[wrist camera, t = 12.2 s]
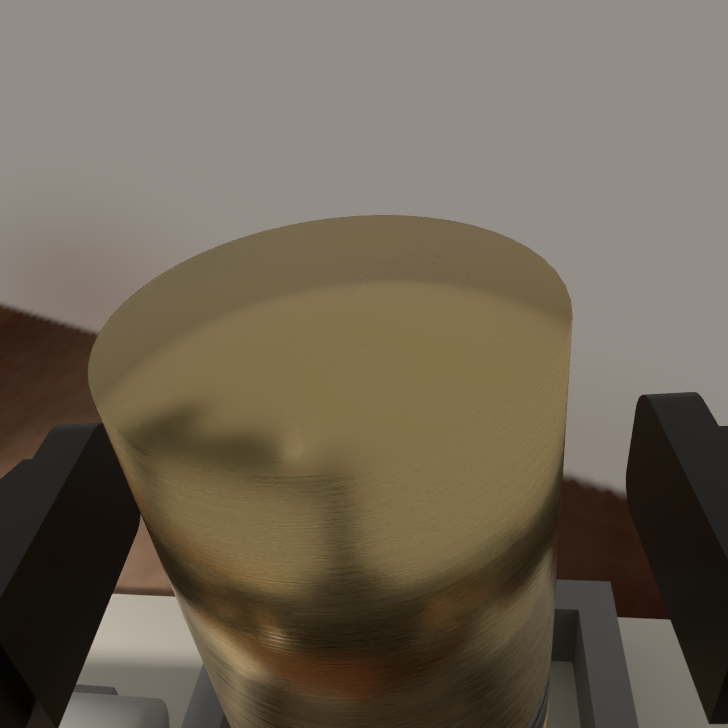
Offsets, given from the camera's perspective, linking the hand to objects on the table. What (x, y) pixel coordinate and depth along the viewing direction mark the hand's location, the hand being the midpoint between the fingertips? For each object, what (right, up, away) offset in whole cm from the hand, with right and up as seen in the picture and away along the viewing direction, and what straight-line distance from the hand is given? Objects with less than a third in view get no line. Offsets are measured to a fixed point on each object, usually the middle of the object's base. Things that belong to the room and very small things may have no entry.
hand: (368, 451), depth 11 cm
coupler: (+1, -8, +3) cm, 9 cm away
